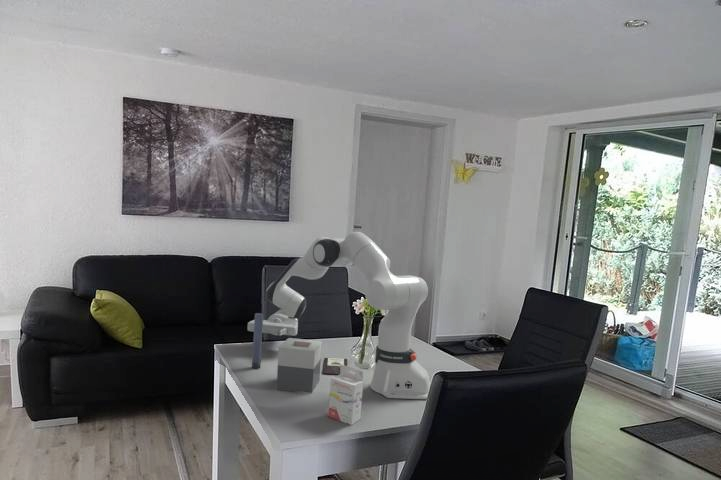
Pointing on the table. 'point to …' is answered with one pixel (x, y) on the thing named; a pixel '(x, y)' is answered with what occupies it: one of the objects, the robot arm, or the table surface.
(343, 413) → the ink cartridge box
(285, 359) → the box
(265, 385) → the table surface
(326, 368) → the chocolate bar
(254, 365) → the stylus
